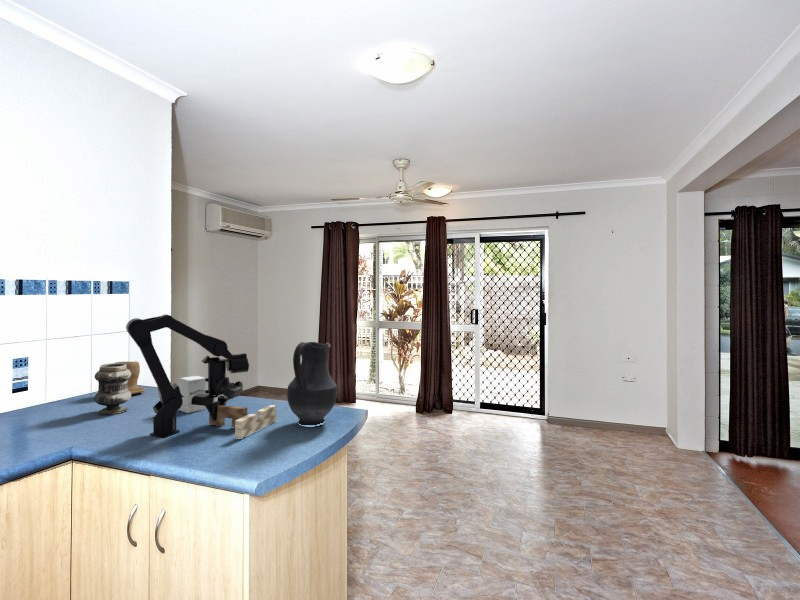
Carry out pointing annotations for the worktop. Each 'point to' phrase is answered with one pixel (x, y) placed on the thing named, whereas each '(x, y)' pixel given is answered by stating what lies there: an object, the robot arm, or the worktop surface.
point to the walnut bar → (228, 414)
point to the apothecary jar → (112, 387)
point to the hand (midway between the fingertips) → (216, 419)
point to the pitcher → (311, 384)
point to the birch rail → (255, 421)
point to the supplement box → (191, 392)
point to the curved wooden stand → (133, 377)
